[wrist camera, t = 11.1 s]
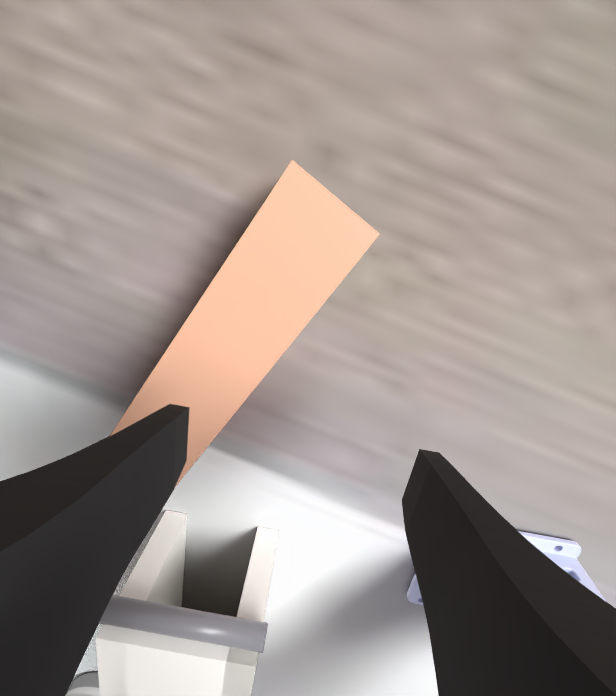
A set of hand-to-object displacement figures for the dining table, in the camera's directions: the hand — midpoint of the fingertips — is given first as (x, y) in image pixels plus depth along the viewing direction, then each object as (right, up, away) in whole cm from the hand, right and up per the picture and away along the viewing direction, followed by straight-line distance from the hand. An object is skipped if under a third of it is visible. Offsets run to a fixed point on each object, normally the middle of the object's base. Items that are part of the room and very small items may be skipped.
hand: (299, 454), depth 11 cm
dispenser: (-7, -14, +16) cm, 22 cm away
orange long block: (-3, +5, +9) cm, 11 cm away
